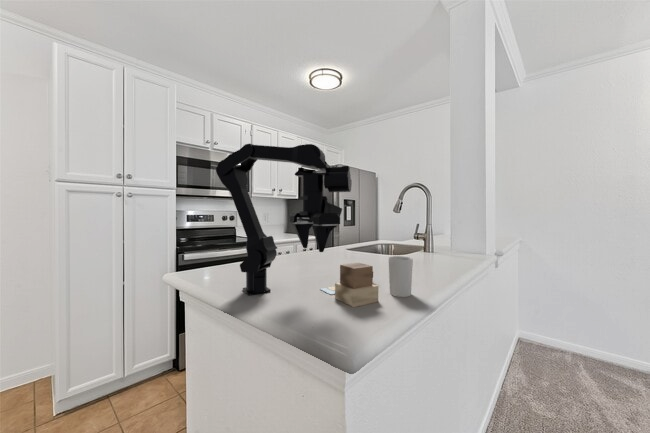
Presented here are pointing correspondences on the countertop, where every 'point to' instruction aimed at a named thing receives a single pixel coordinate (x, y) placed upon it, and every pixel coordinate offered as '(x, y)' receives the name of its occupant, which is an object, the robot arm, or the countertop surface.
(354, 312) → the countertop surface
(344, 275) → the walnut block
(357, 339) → the countertop surface
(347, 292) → the base block
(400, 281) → the drinking glass
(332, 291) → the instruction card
